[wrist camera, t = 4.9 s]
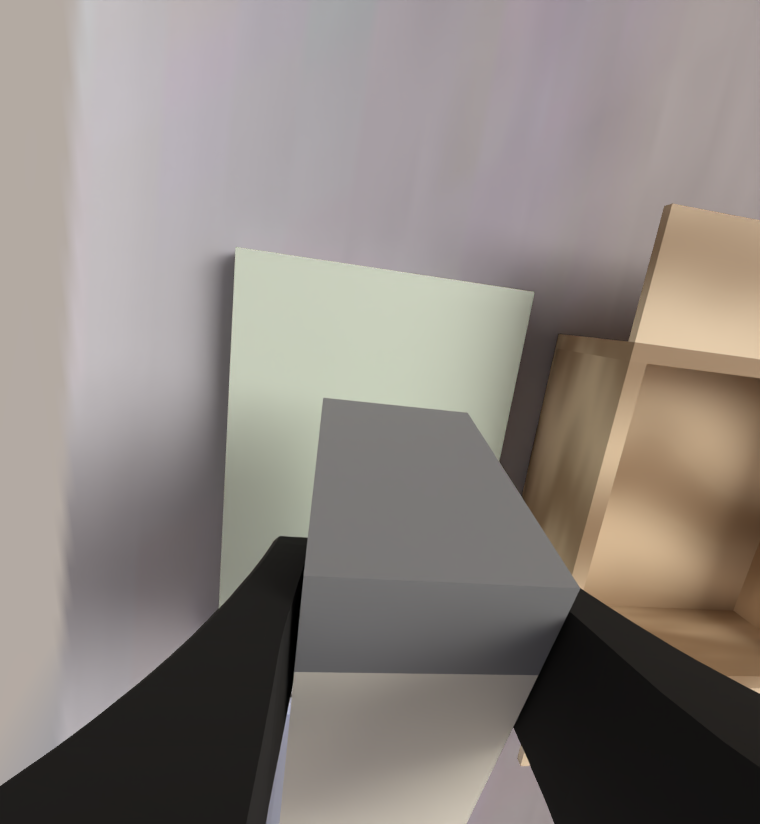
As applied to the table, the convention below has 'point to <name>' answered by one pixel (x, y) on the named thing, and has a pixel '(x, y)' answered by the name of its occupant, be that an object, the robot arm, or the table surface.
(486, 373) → the board
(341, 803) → the block
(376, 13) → the table surface
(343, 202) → the table surface
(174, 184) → the table surface
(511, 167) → the table surface
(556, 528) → the light wood shallow tray
